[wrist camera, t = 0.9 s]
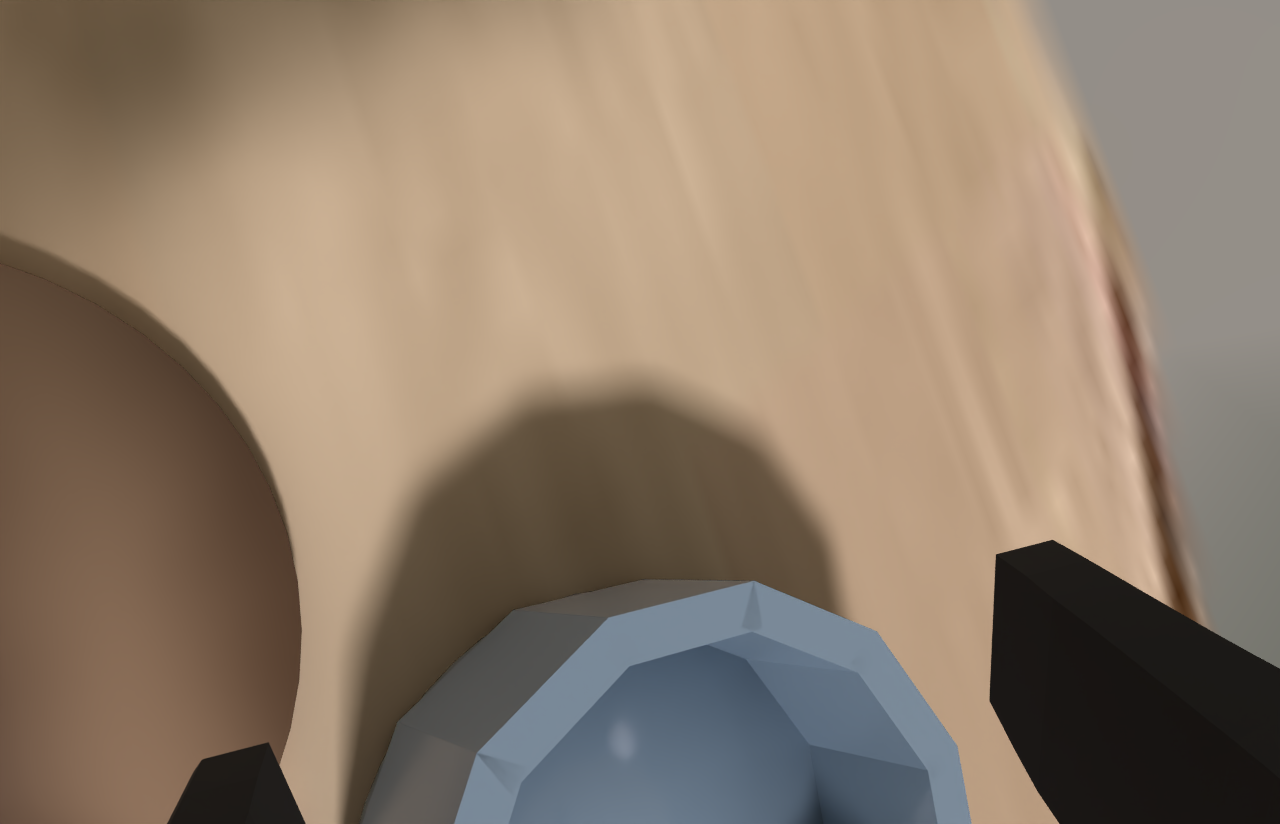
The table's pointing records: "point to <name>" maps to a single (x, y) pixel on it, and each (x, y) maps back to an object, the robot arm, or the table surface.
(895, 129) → the table surface
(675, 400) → the table surface
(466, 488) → the table surface
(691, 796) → the bowl
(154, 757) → the lid
